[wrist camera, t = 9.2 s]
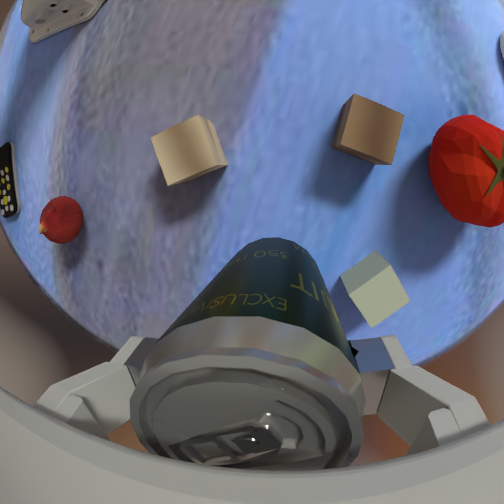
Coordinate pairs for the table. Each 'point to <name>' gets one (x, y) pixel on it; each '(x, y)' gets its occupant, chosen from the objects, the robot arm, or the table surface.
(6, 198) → the remote control
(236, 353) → the beer can
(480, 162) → the tomato
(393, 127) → the walnut block
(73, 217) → the onion
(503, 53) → the plastic lid
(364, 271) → the sage painted block
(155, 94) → the table surface
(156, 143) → the beech block
